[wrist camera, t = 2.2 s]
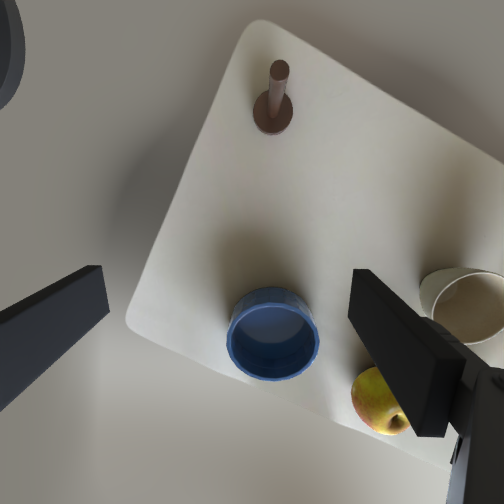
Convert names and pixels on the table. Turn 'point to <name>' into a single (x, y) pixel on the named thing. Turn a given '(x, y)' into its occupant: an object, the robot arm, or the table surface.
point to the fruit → (377, 403)
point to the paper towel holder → (274, 102)
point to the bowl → (272, 335)
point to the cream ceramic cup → (465, 302)
